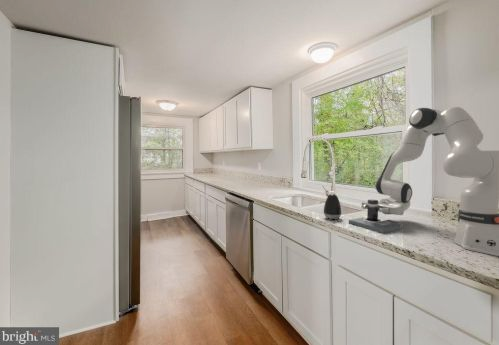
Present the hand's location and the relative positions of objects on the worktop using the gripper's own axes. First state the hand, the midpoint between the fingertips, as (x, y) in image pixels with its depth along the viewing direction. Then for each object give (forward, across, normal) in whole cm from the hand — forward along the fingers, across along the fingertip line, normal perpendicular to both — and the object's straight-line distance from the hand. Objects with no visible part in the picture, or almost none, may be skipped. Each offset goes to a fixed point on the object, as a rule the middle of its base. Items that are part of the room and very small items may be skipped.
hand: (371, 208), depth 123 cm
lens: (-1, 0, +8) cm, 8 cm away
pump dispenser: (+5, -22, +10) cm, 25 cm away
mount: (-1, 0, +10) cm, 10 cm away
